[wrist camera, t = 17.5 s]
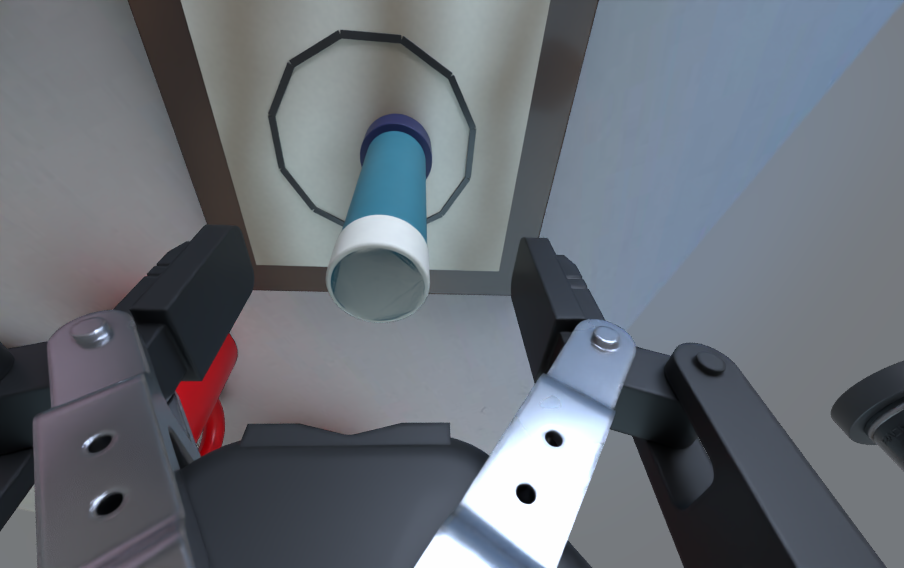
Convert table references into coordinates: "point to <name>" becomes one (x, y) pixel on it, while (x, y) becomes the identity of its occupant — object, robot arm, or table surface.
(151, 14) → the drawing board
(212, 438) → the mug
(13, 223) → the table surface
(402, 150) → the dot marker
